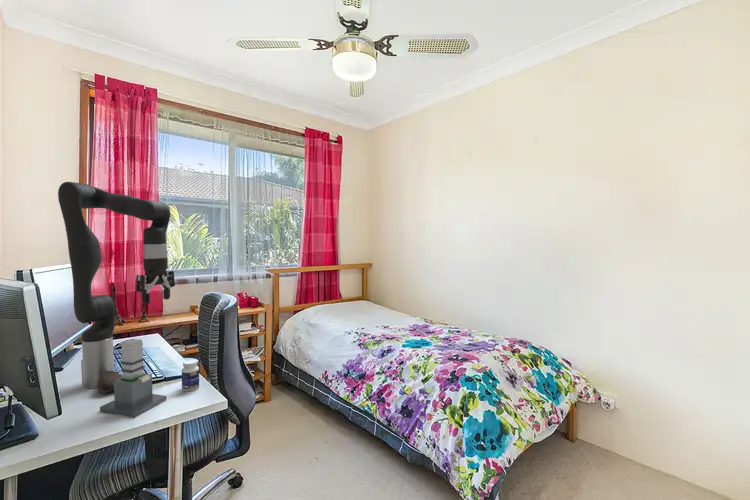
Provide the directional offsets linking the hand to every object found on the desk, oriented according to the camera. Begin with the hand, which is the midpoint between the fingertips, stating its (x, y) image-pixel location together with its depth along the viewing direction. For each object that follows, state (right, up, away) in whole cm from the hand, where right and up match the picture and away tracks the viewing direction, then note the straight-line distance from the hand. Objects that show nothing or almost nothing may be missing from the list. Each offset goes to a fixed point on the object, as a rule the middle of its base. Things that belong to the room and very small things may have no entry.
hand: (156, 301), depth 131 cm
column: (-1, -26, -12) cm, 29 cm away
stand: (-1, -33, -11) cm, 35 cm away
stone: (-16, -32, 0) cm, 36 cm away
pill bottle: (+11, -32, +2) cm, 34 cm away
